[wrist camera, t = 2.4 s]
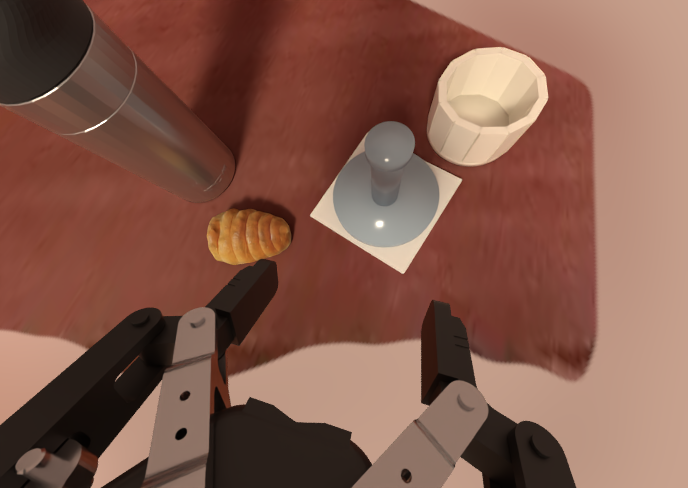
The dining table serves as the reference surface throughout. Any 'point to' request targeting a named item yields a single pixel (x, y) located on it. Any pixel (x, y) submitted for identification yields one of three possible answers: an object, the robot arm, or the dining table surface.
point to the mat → (399, 254)
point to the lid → (386, 189)
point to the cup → (484, 105)
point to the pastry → (247, 236)
